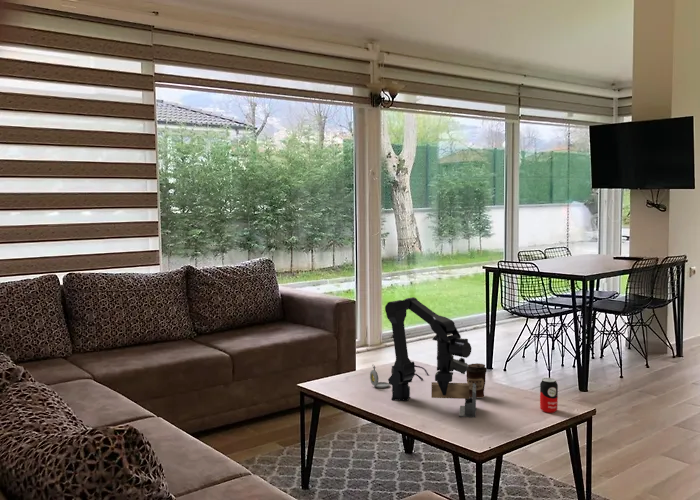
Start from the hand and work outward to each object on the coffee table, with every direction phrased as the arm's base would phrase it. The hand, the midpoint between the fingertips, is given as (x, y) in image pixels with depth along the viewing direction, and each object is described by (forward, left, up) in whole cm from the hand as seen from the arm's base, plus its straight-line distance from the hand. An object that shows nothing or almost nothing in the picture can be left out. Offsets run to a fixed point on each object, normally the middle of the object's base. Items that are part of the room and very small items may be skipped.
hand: (444, 393), depth 258 cm
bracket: (+9, 0, -7) cm, 11 cm away
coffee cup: (+12, +20, -7) cm, 24 cm away
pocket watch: (-29, +28, -7) cm, 41 cm away
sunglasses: (-18, +47, -7) cm, 51 cm away
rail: (+2, 0, -1) cm, 2 cm away
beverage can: (+39, +6, -7) cm, 40 cm away
